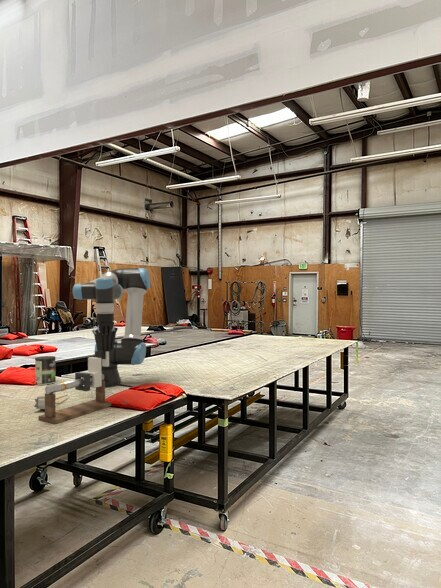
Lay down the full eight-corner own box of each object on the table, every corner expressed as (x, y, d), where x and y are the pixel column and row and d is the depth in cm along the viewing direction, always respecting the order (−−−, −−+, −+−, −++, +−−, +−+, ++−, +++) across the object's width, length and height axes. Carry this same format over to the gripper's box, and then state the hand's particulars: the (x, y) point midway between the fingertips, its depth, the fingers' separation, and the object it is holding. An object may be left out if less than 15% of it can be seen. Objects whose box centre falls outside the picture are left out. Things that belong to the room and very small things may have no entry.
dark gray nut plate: (78, 388, 170) (78, 372, 170) (90, 390, 166) (90, 373, 166) (75, 389, 168) (75, 372, 168) (86, 391, 164) (86, 374, 164)
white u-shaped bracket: (92, 384, 175) (91, 357, 175) (101, 386, 172) (101, 358, 172) (84, 386, 171) (84, 358, 171) (94, 387, 168) (93, 359, 168)
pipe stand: (95, 402, 179) (95, 379, 179) (111, 405, 174) (111, 381, 174) (38, 419, 155) (38, 392, 155) (55, 424, 150) (54, 396, 150)
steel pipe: (99, 380, 177) (99, 372, 177) (104, 381, 175) (104, 373, 175) (44, 394, 154) (44, 385, 154) (50, 395, 152) (50, 386, 152)
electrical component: (58, 404, 189) (58, 393, 190) (70, 404, 188) (71, 393, 189) (33, 409, 165) (34, 396, 166) (48, 409, 165) (49, 396, 166)
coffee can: (58, 380, 224) (58, 355, 224) (50, 385, 214) (50, 358, 214) (40, 381, 225) (40, 356, 225) (31, 385, 214) (31, 359, 214)
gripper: (110, 312, 185) (110, 363, 185) (87, 313, 174) (88, 367, 174) (121, 312, 181) (122, 364, 181) (99, 313, 170) (100, 369, 170)
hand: (105, 366), depth 178 cm, fingers closed
